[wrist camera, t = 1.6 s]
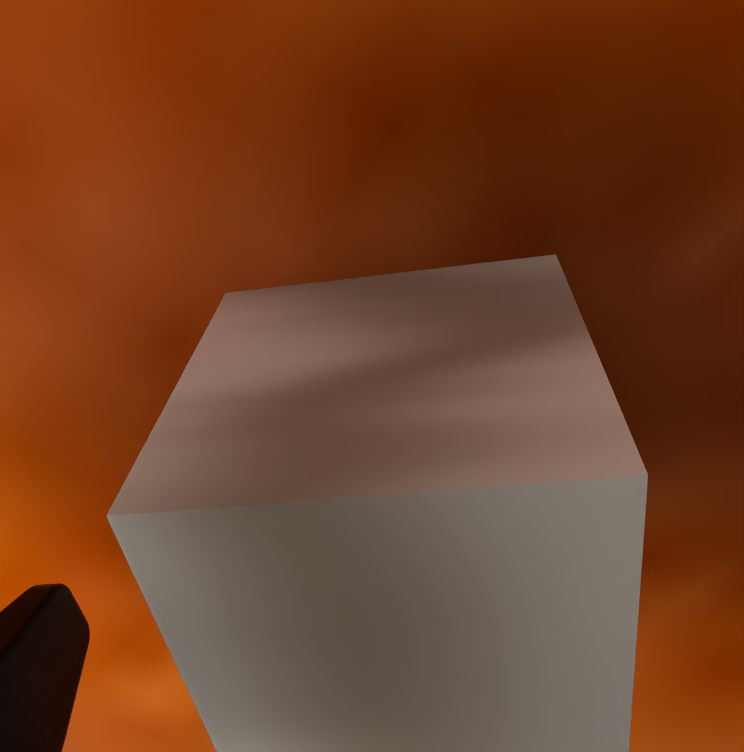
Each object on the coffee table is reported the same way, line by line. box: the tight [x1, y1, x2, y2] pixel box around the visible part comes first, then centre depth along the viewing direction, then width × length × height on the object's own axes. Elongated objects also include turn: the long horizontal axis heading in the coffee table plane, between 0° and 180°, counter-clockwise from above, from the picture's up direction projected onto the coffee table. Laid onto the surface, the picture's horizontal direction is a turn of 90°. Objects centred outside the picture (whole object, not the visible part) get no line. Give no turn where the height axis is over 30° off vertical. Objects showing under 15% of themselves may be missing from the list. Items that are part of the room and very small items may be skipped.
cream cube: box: [106, 254, 648, 752], centre depth 10 cm, size 5×5×5 cm
